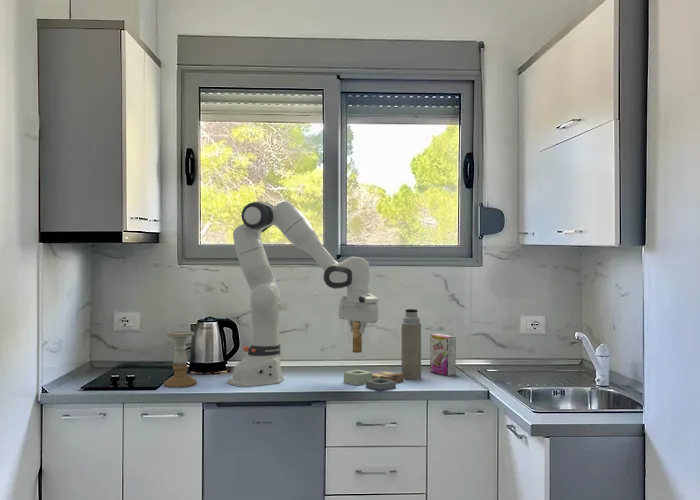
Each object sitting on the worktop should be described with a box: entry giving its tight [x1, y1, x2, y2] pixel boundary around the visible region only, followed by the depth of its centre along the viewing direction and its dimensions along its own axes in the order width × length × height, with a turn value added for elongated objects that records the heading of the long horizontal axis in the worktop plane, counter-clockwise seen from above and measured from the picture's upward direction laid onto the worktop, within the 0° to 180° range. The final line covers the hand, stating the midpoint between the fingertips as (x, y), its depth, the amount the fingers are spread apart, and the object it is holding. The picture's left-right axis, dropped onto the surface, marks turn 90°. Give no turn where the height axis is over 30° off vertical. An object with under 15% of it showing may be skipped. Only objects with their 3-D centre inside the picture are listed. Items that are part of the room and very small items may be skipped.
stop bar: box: [380, 372, 405, 384], centre depth 244 cm, size 10×3×3 cm, turn 131°
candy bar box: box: [429, 333, 457, 377], centre depth 262 cm, size 11×5×16 cm, turn 34°
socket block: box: [343, 369, 373, 386], centre depth 244 cm, size 8×8×4 cm
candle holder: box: [163, 330, 197, 388], centre depth 240 cm, size 12×12×20 cm
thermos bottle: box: [401, 308, 422, 380], centre depth 254 cm, size 8×8×28 cm
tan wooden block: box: [372, 371, 395, 380], centre depth 248 cm, size 9×7×3 cm
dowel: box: [352, 321, 363, 354], centre depth 244 cm, size 4×4×12 cm
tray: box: [365, 378, 397, 392], centre depth 234 cm, size 8×8×2 cm
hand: (357, 332), depth 244 cm, fingers closed on dowel, 4 cm apart
